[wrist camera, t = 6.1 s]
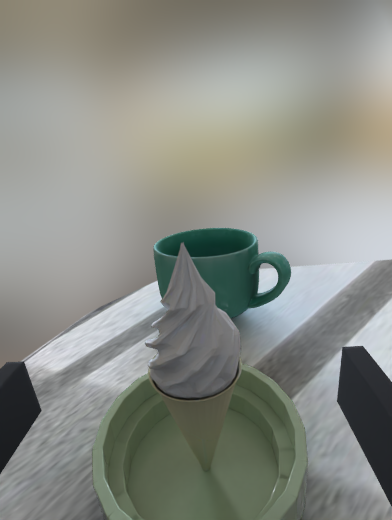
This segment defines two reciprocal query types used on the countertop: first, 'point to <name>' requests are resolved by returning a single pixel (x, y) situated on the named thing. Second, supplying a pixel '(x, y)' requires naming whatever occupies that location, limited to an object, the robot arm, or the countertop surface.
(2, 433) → the robot arm
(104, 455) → the bowl
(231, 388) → the ice cream cone
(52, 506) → the countertop surface
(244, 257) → the mug
